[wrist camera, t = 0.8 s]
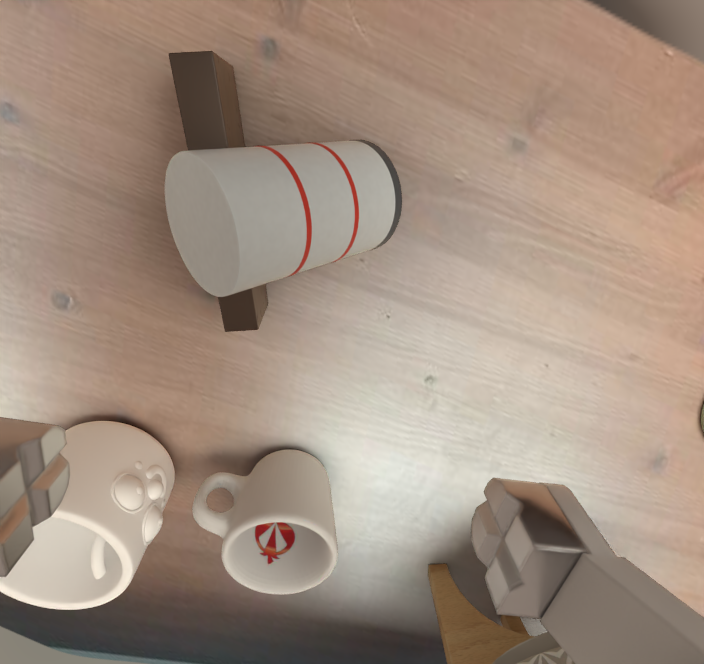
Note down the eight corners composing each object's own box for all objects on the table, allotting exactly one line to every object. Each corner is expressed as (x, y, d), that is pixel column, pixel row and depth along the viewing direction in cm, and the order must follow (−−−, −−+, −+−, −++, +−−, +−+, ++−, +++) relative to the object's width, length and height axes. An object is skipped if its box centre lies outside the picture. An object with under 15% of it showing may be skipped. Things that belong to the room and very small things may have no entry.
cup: (200, 484, 35) (165, 573, 28) (226, 413, 32) (195, 493, 25) (316, 515, 37) (312, 605, 30) (351, 452, 34) (356, 536, 27)
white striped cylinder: (202, 148, 24) (99, 155, 14) (392, 137, 24) (428, 137, 14) (221, 248, 27) (146, 317, 17) (393, 239, 27) (424, 302, 16)
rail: (196, 67, 22) (167, 52, 18) (233, 66, 22) (212, 50, 18) (239, 305, 28) (224, 332, 24) (268, 303, 28) (258, 330, 24)
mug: (215, 506, 36) (182, 613, 28) (107, 529, 37) (44, 641, 29) (156, 398, 31) (93, 490, 23) (32, 427, 32) (-72, 527, 24)
